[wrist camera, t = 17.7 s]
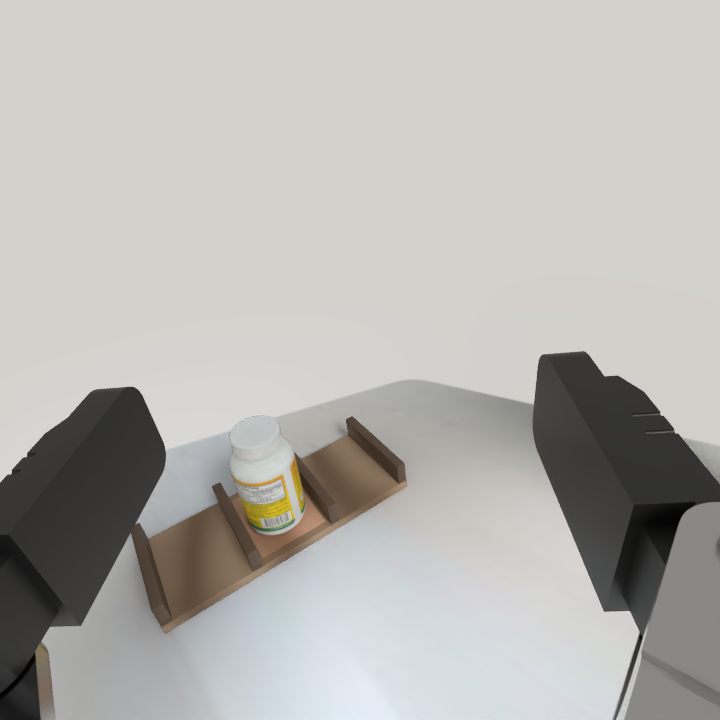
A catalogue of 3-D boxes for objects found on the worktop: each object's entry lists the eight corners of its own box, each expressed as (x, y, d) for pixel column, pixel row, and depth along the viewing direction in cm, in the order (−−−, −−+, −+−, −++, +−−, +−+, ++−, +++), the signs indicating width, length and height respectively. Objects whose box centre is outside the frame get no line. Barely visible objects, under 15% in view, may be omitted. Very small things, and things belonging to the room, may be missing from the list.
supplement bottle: (279, 547, 39) (253, 464, 34) (235, 522, 42) (205, 441, 37) (319, 502, 43) (300, 421, 37) (276, 481, 45) (253, 403, 40)
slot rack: (356, 437, 51) (352, 415, 49) (407, 486, 44) (404, 462, 43) (141, 550, 41) (129, 527, 40) (165, 633, 35) (150, 610, 33)
